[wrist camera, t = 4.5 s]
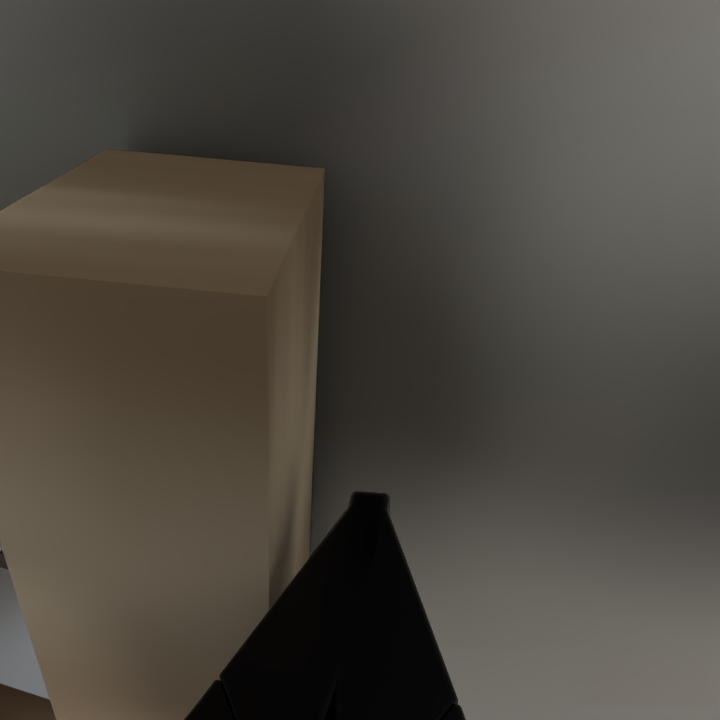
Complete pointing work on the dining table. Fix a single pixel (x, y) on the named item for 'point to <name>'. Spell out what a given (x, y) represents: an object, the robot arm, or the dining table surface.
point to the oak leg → (156, 418)
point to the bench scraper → (18, 661)
